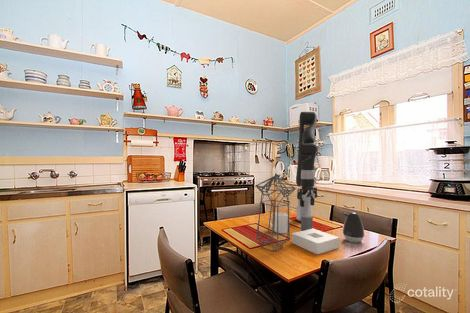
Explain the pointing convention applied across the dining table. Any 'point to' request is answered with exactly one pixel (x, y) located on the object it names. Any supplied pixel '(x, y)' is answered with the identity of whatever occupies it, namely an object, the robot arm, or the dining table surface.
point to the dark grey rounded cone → (353, 228)
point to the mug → (280, 222)
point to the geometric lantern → (274, 209)
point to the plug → (306, 222)
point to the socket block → (315, 241)
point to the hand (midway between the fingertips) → (307, 206)
